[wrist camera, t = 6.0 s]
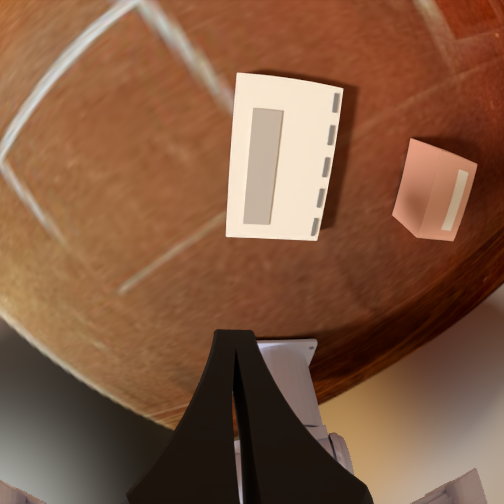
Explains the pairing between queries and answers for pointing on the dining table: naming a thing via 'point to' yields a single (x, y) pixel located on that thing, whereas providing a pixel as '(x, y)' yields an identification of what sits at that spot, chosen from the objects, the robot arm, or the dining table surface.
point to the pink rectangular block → (433, 191)
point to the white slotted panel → (280, 156)
